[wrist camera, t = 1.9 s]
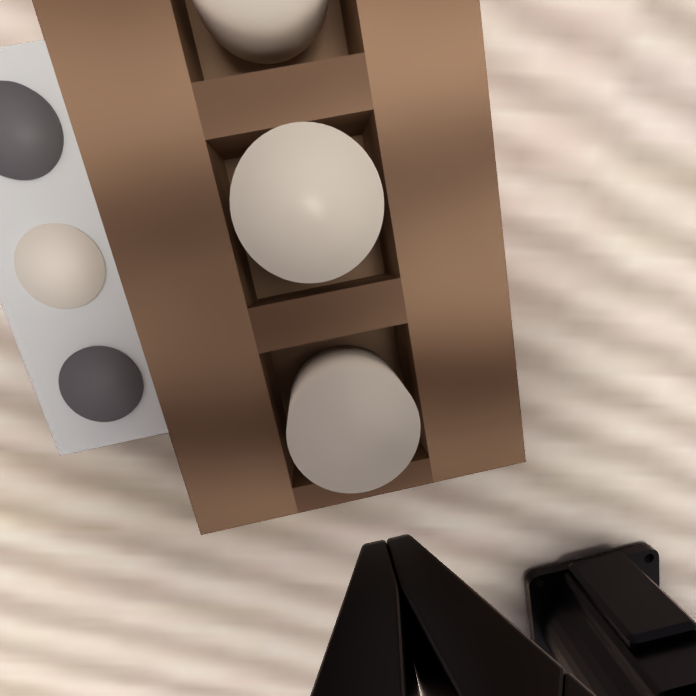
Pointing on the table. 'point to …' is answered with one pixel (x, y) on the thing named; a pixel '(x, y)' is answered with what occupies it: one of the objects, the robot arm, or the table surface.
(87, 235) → the card
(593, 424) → the table surface
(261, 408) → the button board
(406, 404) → the button
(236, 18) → the button
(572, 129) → the table surface
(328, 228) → the button middle
